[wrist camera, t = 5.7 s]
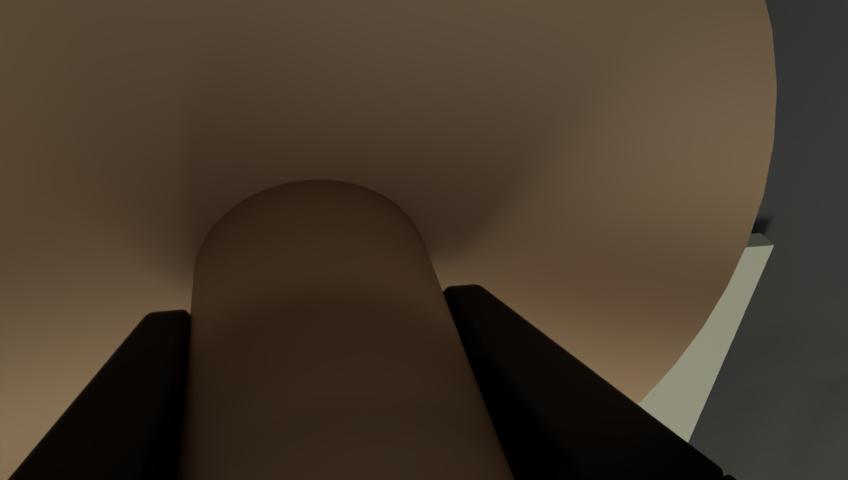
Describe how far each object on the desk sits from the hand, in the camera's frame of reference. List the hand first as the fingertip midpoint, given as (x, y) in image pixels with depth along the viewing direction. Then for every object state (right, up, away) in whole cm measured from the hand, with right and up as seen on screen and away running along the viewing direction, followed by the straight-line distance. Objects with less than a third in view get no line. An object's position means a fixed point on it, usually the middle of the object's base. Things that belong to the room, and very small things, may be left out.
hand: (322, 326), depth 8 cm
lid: (0, +1, +2) cm, 2 cm away
